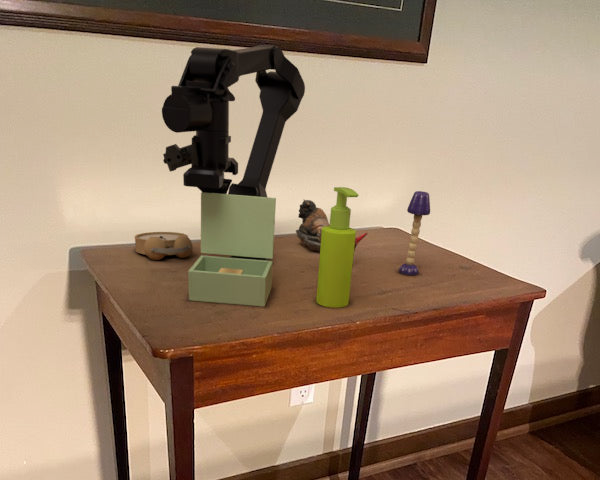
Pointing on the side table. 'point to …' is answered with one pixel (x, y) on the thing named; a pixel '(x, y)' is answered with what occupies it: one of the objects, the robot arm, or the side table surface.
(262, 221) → the lid
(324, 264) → the soap dispenser
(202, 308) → the side table surface
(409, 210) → the toy lamp
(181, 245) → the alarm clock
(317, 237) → the bison figurine
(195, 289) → the chest
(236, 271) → the block
